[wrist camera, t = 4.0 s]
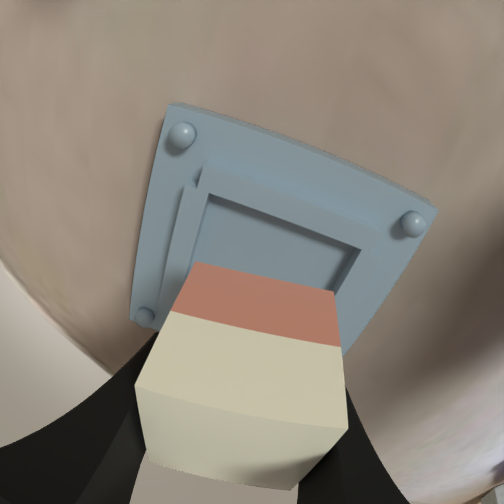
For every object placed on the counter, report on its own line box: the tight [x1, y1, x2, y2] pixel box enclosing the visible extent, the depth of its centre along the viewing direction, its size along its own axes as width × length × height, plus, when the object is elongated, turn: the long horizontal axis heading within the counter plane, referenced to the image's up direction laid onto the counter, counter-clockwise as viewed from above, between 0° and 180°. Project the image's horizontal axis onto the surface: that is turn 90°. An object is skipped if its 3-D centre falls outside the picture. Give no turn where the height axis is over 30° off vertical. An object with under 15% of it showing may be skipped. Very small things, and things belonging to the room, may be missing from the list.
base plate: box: [129, 102, 439, 358], centre depth 15 cm, size 12×12×2 cm
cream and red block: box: [135, 261, 348, 491], centre depth 9 cm, size 4×4×5 cm
